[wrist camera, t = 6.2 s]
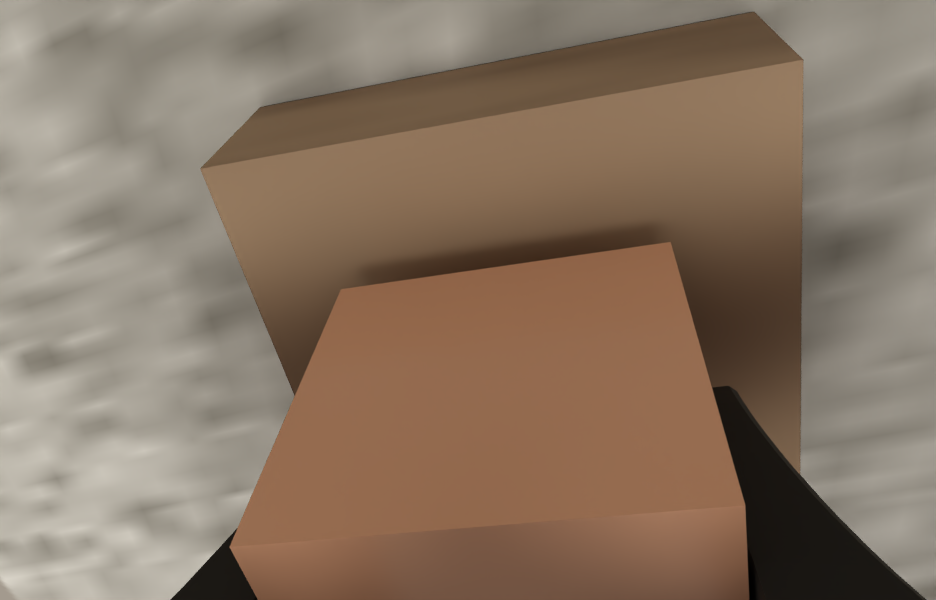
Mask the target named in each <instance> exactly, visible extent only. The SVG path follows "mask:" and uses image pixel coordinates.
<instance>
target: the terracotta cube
mask: <svg viewBox="0 0 936 600" xmlns="http://www.w3.org/2000/svg"><path fill="white" fill-rule="evenodd" d="M230 549H231V551H232V553H233V555H234V556H235V558H236V560H237V562H238V564H239V566H240V568H241V569H242V571H243V573H244V575H245V577H246V579H247V581H248V582H249V584H250V586H251V588H252V590H253V592H254V593H255V595H256V597H257V599H258V600H749V581H748V558H747V534H746V510H745V502H744V499H743V495H742V492H741V488H740V485H739V481H738V478H737V474H736V471H735V467H734V464H733V460H732V457H731V453H730V450H729V446H728V443H727V439H726V435H725V432H724V428H723V425H722V421H721V418H720V414H719V411H718V407H717V404H716V400H715V397H714V393H713V390H712V386H711V383H710V379H709V376H708V372H707V368H706V365H705V361H704V358H703V354H702V351H701V347H700V344H699V340H698V337H697V333H696V330H695V326H694V323H693V319H692V316H691V312H690V309H689V305H688V302H687V298H686V294H685V291H684V287H683V284H682V280H681V277H680V273H679V270H678V266H677V263H676V259H675V256H674V252H673V249H672V245H671V242H667V243H660V244H653V245H646V246H639V247H632V248H625V249H618V250H611V251H604V252H597V253H590V254H583V255H576V256H569V257H562V258H555V259H548V260H541V261H534V262H527V263H520V264H513V265H506V266H499V267H493V268H486V269H479V270H472V271H465V272H458V273H451V274H444V275H437V276H430V277H423V278H416V279H409V280H402V281H395V282H388V283H381V284H374V285H367V286H360V287H353V288H346V289H341V290H340V293H339V295H338V297H337V300H336V302H335V304H334V306H333V309H332V311H331V313H330V316H329V318H328V320H327V323H326V325H325V327H324V330H323V332H322V334H321V337H320V339H319V341H318V343H317V346H316V348H315V350H314V353H313V355H312V357H311V360H310V362H309V364H308V367H307V369H306V371H305V374H304V376H303V378H302V380H301V383H300V385H299V387H298V390H297V392H296V394H295V397H294V399H293V401H292V404H291V406H290V408H289V411H288V413H287V415H286V418H285V420H284V422H283V424H282V427H281V429H280V431H279V434H278V436H277V438H276V441H275V443H274V445H273V448H272V450H271V452H270V455H269V457H268V459H267V461H266V464H265V466H264V468H263V471H262V473H261V475H260V478H259V480H258V482H257V485H256V487H255V489H254V492H253V494H252V496H251V498H250V501H249V503H248V505H247V508H246V510H245V512H244V515H243V517H242V519H241V522H240V524H239V526H238V529H237V531H236V533H235V535H234V538H233V540H232V542H231V545H230Z"/></svg>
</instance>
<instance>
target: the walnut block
mask: <svg viewBox="0 0 936 600" xmlns="http://www.w3.org/2000/svg"><path fill="white" fill-rule="evenodd" d="M802 150H803V59H802V58H801V57H800V56H799V55H798V54H797V53H796V52H795V51H794V50H793V49H792V48H791V47H790V46H789V45H788V44H787V43H785V42H784V41H783V40H782V39H781V38H780V37H779V36H778V35H777V34H776V33H775V32H774V31H773V30H772V29H771V28H770V27H769V26H768V25H767V24H766V23H765V22H764V21H763V20H762V19H761V18H760V17H759V16H758V15H757V14H756V13H755V12H750V13H745V14H740V15H735V16H730V17H724V18H719V19H714V20H709V21H704V22H699V23H693V24H688V25H683V26H678V27H673V28H668V29H662V30H657V31H652V32H647V33H642V34H637V35H631V36H626V37H621V38H616V39H611V40H606V41H601V42H595V43H590V44H585V45H580V46H575V47H570V48H564V49H559V50H554V51H549V52H544V53H539V54H533V55H528V56H523V57H518V58H513V59H508V60H503V61H497V62H492V63H487V64H482V65H477V66H472V67H466V68H461V69H456V70H451V71H446V72H441V73H435V74H430V75H425V76H420V77H415V78H410V79H405V80H399V81H394V82H389V83H384V84H379V85H374V86H368V87H363V88H358V89H353V90H348V91H343V92H337V93H332V94H327V95H322V96H317V97H312V98H306V99H301V100H296V101H291V102H286V103H281V104H276V105H270V106H265V107H260V108H259V109H258V110H257V111H256V112H255V113H254V114H253V115H252V116H251V117H250V118H249V119H248V120H247V121H246V122H245V123H244V124H243V125H242V127H241V128H240V129H239V130H238V131H237V132H236V133H235V134H234V135H233V136H232V137H231V138H230V139H229V140H228V141H227V142H226V143H225V144H224V145H223V146H222V147H221V148H220V149H219V150H218V151H217V152H216V153H215V154H214V155H213V156H212V157H211V158H210V159H209V160H208V161H207V162H206V163H205V164H204V165H203V166H202V167H201V172H202V174H203V176H204V179H205V181H206V184H207V186H208V188H209V191H210V193H211V196H212V198H213V200H214V203H215V205H216V208H217V210H218V212H219V215H220V217H221V220H222V222H223V224H224V227H225V229H226V232H227V234H228V236H229V239H230V241H231V244H232V246H233V248H234V251H235V253H236V256H237V258H238V261H239V263H240V265H241V268H242V270H243V273H244V275H245V277H246V280H247V282H248V285H249V287H250V289H251V292H252V294H253V297H254V299H255V301H256V304H257V306H258V309H259V311H260V313H261V316H262V318H263V321H264V323H265V325H266V328H267V330H268V333H269V335H270V337H271V340H272V342H273V345H274V347H275V349H276V352H277V354H278V357H279V359H280V361H281V364H282V366H283V369H284V371H285V373H286V376H287V378H288V381H289V383H290V385H291V388H292V390H293V393H294V395H295V394H296V392H297V390H298V387H299V385H300V383H301V380H302V378H303V376H304V374H305V371H306V369H307V367H308V364H309V362H310V360H311V357H312V355H313V353H314V350H315V348H316V346H317V343H318V341H319V339H320V337H321V334H322V332H323V330H324V327H325V325H326V323H327V320H328V318H329V316H330V313H331V311H332V309H333V306H334V304H335V302H336V300H337V297H338V295H339V293H340V290H341V289H346V288H353V287H360V286H367V285H374V284H381V283H388V282H395V281H402V280H409V279H416V278H423V277H430V276H437V275H444V274H451V273H458V272H465V271H472V270H479V269H486V268H493V267H499V266H506V265H513V264H520V263H527V262H534V261H541V260H548V259H555V258H562V257H569V256H576V255H583V254H590V253H597V252H604V251H611V250H618V249H625V248H632V247H639V246H646V245H653V244H660V243H667V242H671V245H672V249H673V252H674V256H675V259H676V263H677V266H678V270H679V273H680V277H681V280H682V284H683V287H684V291H685V294H686V298H687V302H688V305H689V309H690V312H691V316H692V319H693V323H694V326H695V330H696V333H697V337H698V340H699V344H700V347H701V351H702V354H703V358H704V361H705V365H706V368H707V372H708V376H709V379H710V383H711V386H712V387H720V386H730V387H732V388H733V389H734V390H736V391H737V392H738V394H739V395H740V397H741V399H742V400H743V402H744V403H745V405H746V406H747V408H748V409H749V411H750V412H751V413H752V415H753V416H754V418H755V419H756V421H757V422H758V423H759V425H760V426H761V427H762V429H763V430H764V431H765V433H766V434H767V435H768V436H769V438H770V439H771V440H772V441H773V443H774V444H775V445H776V447H777V448H778V449H779V450H780V452H781V453H782V454H783V455H784V456H785V458H786V459H787V460H788V461H789V463H790V464H791V465H792V466H793V467H794V468H795V469H796V471H797V472H798V473H799V474H800V427H801V289H802Z"/></svg>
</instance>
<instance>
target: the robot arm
mask: <svg viewBox="0 0 936 600" xmlns="http://www.w3.org/2000/svg"><path fill="white" fill-rule="evenodd" d="M712 390H713V393H714V397H715V400H716V404H717V407H718V411H719V414H720V418H721V421H722V425H723V428H724V432H725V435H726V439H727V443H728V446H729V450H730V453H731V457H732V460H733V464H734V467H735V471H736V474H737V478H738V481H739V485H740V488H741V492H742V495H743V499H744V502H745V510H746V534H747V558H748V581H749V600H926V599H925V598H924V597H923V596H921V595H920V594H919V593H918V592H917V591H916V590H915V589H913V588H912V587H911V586H910V585H909V584H908V583H907V582H905V581H904V580H903V579H902V578H901V577H900V576H899V575H898V574H896V573H895V572H894V571H893V570H892V569H891V568H890V567H889V566H888V565H887V564H886V563H885V562H884V561H882V560H881V559H880V558H879V557H878V556H877V555H876V554H875V553H874V552H873V551H872V550H871V549H870V548H869V547H868V546H867V545H866V544H865V543H864V542H863V541H862V540H861V539H860V538H859V537H858V536H857V535H856V534H855V533H854V532H853V531H852V530H851V529H850V528H849V527H848V526H847V525H846V524H845V523H844V522H843V521H842V520H841V519H840V518H839V517H838V516H837V515H836V514H835V513H834V512H833V511H832V510H831V509H830V507H829V506H828V505H827V504H826V503H825V502H824V501H823V500H822V499H821V498H820V497H819V496H818V494H817V493H816V492H815V491H814V490H813V489H812V488H811V487H810V485H809V484H808V483H807V482H806V481H805V480H804V479H803V477H802V476H801V475H800V474H799V473H798V472H797V471H796V469H795V468H794V467H793V466H792V465H791V464H790V463H789V461H788V460H787V459H786V458H785V456H784V455H783V454H782V453H781V452H780V450H779V449H778V448H777V447H776V445H775V444H774V443H773V441H772V440H771V439H770V438H769V436H768V435H767V434H766V433H765V431H764V430H763V429H762V427H761V426H760V425H759V423H758V422H757V421H756V419H755V418H754V416H753V415H752V413H751V412H750V411H749V409H748V408H747V406H746V405H745V403H744V402H743V400H742V399H741V397H740V395H739V394H738V392H737V391H736V390H734V389H733V388H732V387H730V386H720V387H712ZM237 529H238V528H237ZM237 529H236V530H235V531H234V533H233V534H232V535H231V536H230V537H229V538H228V539H227V540H226V541H225V542H224V543H223V544H222V546H221V547H220V548H219V549H218V550H217V551H216V552H215V553H214V554H213V555H212V556H211V557H210V559H209V560H208V561H207V562H206V563H205V564H204V565H203V566H202V567H201V568H200V569H199V570H198V572H197V573H196V574H195V575H194V576H193V577H192V578H191V579H190V580H189V581H188V582H187V583H186V584H185V586H184V587H183V588H182V589H181V590H180V591H179V592H178V593H177V594H176V595H175V596H174V597H173V598H172V599H171V600H258V599H257V597H256V595H255V593H254V592H253V590H252V588H251V586H250V584H249V582H248V581H247V579H246V577H245V575H244V573H243V571H242V569H241V568H240V566H239V564H238V562H237V560H236V558H235V556H234V555H233V553H232V551H231V549H230V545H231V542H232V540H233V538H234V535H235V533H236V531H237Z"/></svg>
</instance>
